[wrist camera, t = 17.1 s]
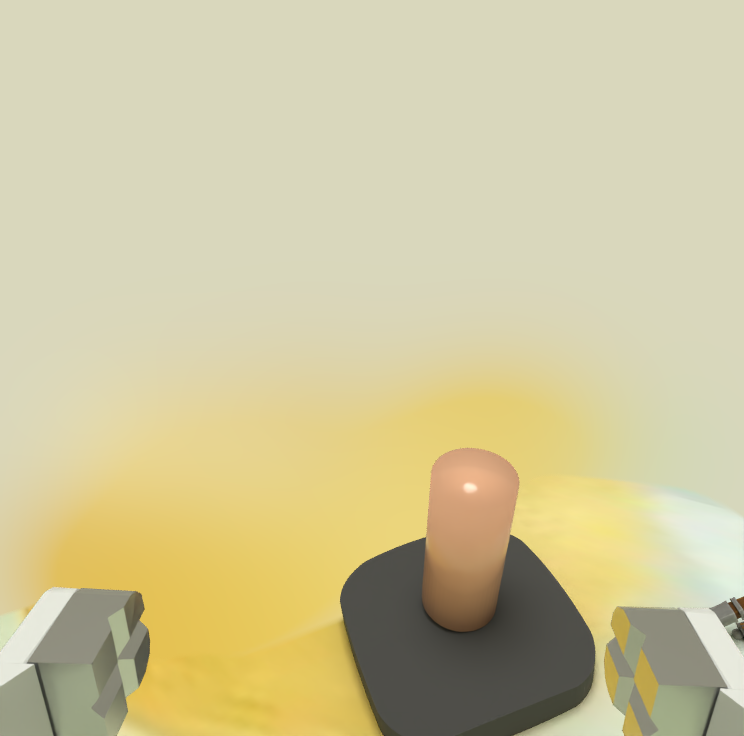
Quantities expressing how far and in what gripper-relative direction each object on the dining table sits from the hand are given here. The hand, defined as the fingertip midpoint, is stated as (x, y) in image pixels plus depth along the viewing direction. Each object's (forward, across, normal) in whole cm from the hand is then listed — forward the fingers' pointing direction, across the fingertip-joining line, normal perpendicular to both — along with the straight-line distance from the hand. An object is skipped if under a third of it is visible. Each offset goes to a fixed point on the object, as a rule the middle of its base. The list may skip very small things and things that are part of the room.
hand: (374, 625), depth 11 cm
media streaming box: (+24, -5, +25) cm, 35 cm away
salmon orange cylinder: (+24, -5, +22) cm, 33 cm away
